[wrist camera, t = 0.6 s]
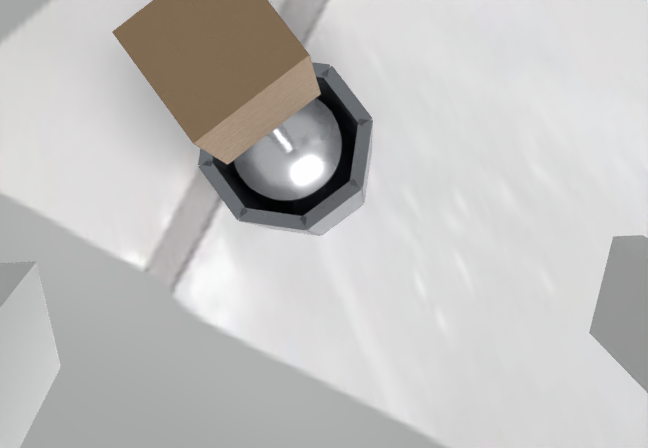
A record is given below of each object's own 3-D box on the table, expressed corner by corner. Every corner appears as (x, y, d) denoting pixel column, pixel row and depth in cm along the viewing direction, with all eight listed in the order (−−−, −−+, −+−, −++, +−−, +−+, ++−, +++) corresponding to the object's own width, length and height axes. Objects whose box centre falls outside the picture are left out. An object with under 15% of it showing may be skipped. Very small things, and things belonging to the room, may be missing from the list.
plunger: (299, 72, 33) (232, -105, 17) (364, 157, 32) (360, 60, 16) (213, 137, 33) (65, 26, 17) (276, 223, 33) (185, 194, 16)
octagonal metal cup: (317, 80, 42) (302, 27, 32) (394, 181, 41) (403, 158, 31) (217, 157, 42) (170, 127, 32) (291, 258, 41) (266, 260, 31)
